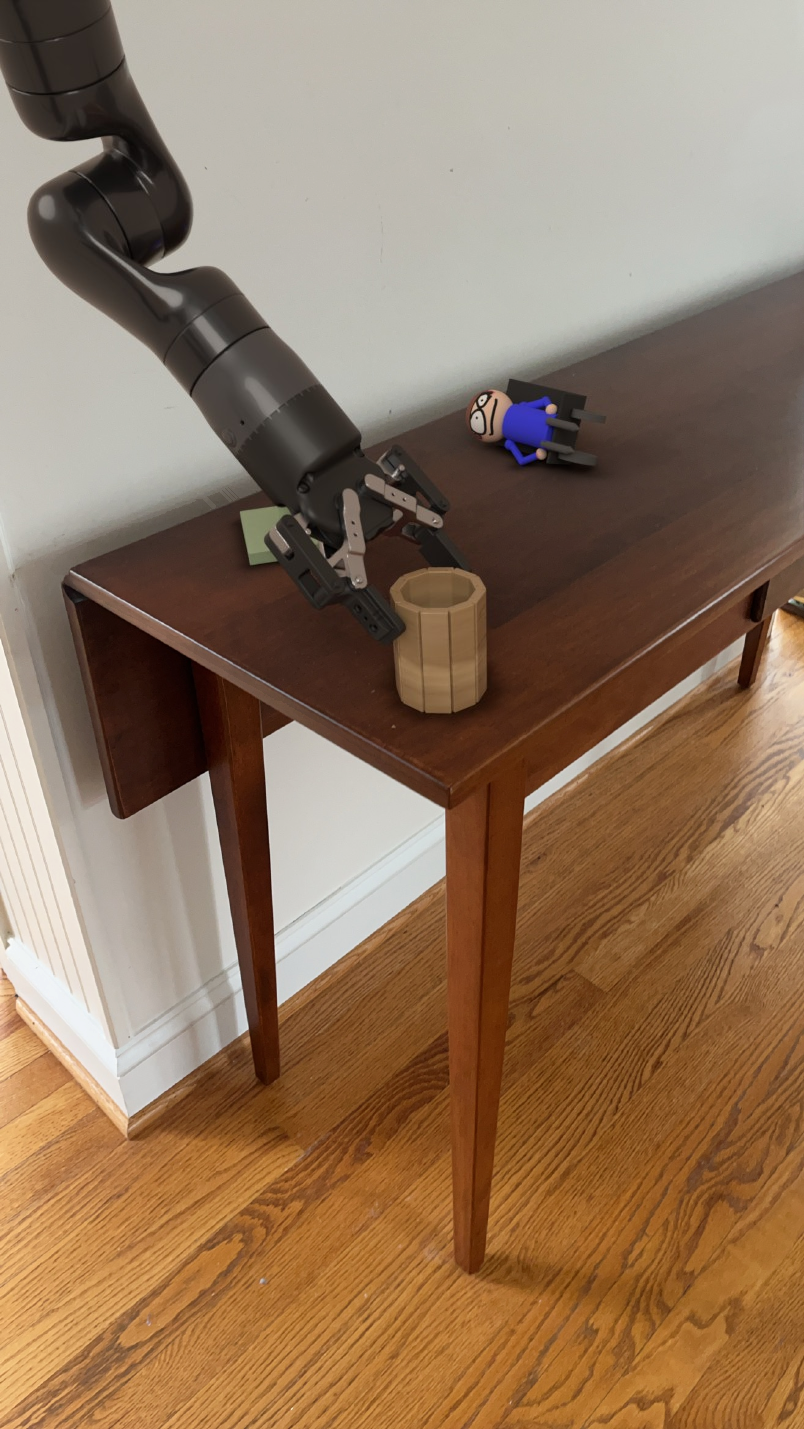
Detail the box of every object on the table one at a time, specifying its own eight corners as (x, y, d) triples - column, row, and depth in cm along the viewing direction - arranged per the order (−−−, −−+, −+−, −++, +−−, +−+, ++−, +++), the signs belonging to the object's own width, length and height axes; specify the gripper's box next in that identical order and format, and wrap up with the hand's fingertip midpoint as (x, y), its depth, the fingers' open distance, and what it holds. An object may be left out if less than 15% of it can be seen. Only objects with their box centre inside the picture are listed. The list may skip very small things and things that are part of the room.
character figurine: (574, 491, 99) (458, 456, 108) (618, 462, 102) (503, 430, 111) (573, 414, 94) (452, 384, 103) (619, 386, 97) (499, 359, 106)
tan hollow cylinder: (408, 721, 70) (402, 620, 65) (389, 670, 75) (382, 573, 70) (496, 705, 71) (496, 605, 66) (471, 657, 76) (469, 560, 71)
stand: (250, 565, 89) (235, 471, 84) (241, 522, 97) (226, 433, 91) (351, 550, 91) (342, 457, 85) (335, 509, 98) (326, 420, 93)
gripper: (231, 422, 60) (405, 634, 62) (366, 352, 70) (515, 537, 71) (181, 490, 66) (342, 683, 67) (312, 416, 75) (451, 587, 77)
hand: (431, 608), depth 69 cm, fingers open, 8 cm apart
